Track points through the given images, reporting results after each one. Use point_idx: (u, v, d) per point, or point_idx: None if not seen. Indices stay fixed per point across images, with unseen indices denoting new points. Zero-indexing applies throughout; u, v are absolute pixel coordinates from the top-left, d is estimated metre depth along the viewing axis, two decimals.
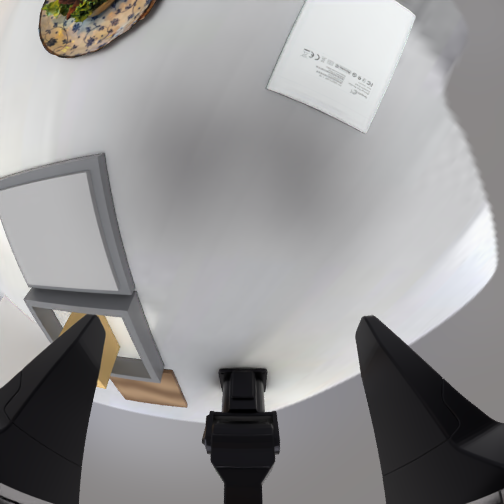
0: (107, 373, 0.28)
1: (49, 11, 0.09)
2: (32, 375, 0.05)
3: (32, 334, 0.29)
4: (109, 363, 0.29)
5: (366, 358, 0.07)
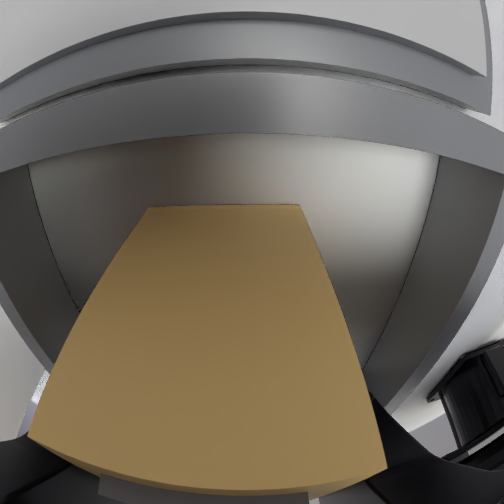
0: None
1: None
2: None
3: None
4: None
5: None
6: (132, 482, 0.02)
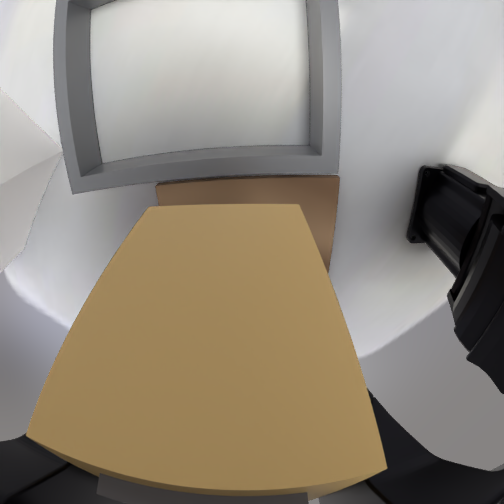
0: None
1: None
2: None
3: (18, 129, 0.12)
4: None
5: None
6: (131, 482, 0.02)
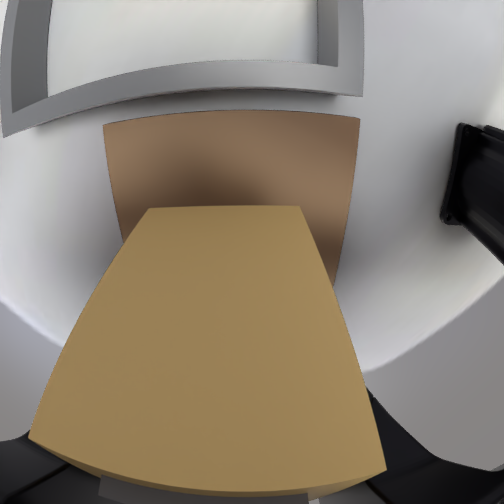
0: None
1: None
2: None
3: None
4: None
5: None
6: (132, 483, 0.02)
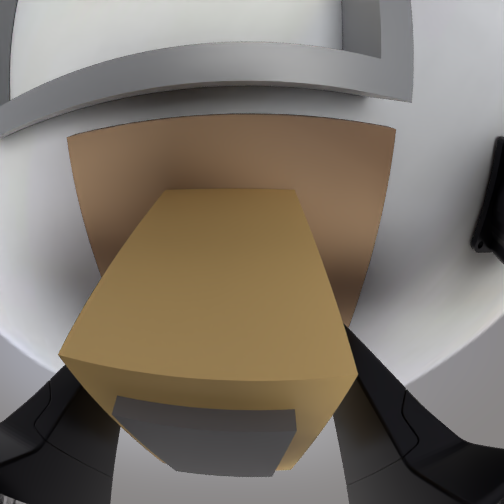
0: None
1: None
2: (63, 386, 0.05)
3: None
4: None
5: None
6: (145, 399, 0.04)
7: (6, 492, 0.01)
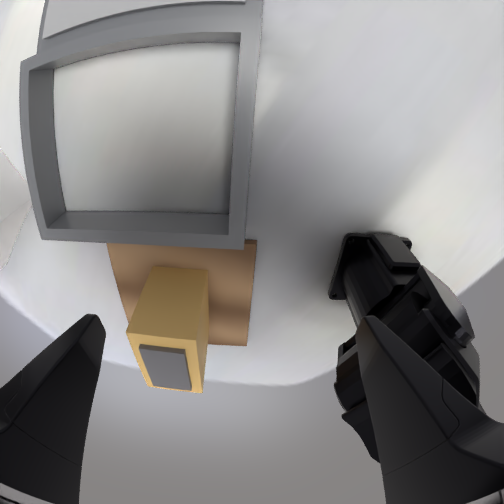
0: (203, 368, 0.20)
1: None
2: (32, 375, 0.05)
3: None
4: (205, 352, 0.21)
5: (366, 358, 0.07)
6: (147, 344, 0.16)
7: None
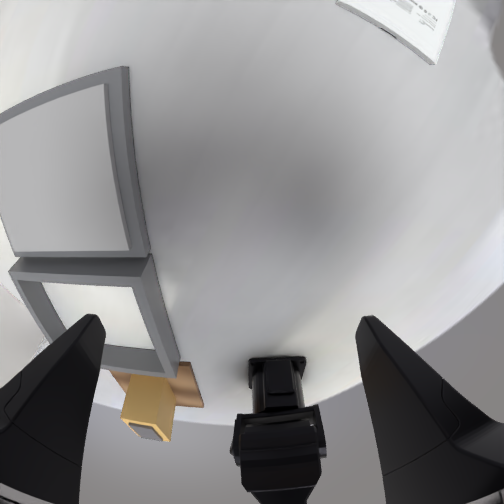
0: (170, 427, 0.29)
1: None
2: (32, 375, 0.05)
3: (20, 319, 0.23)
4: (171, 418, 0.30)
5: (366, 358, 0.07)
6: (132, 422, 0.25)
7: None
